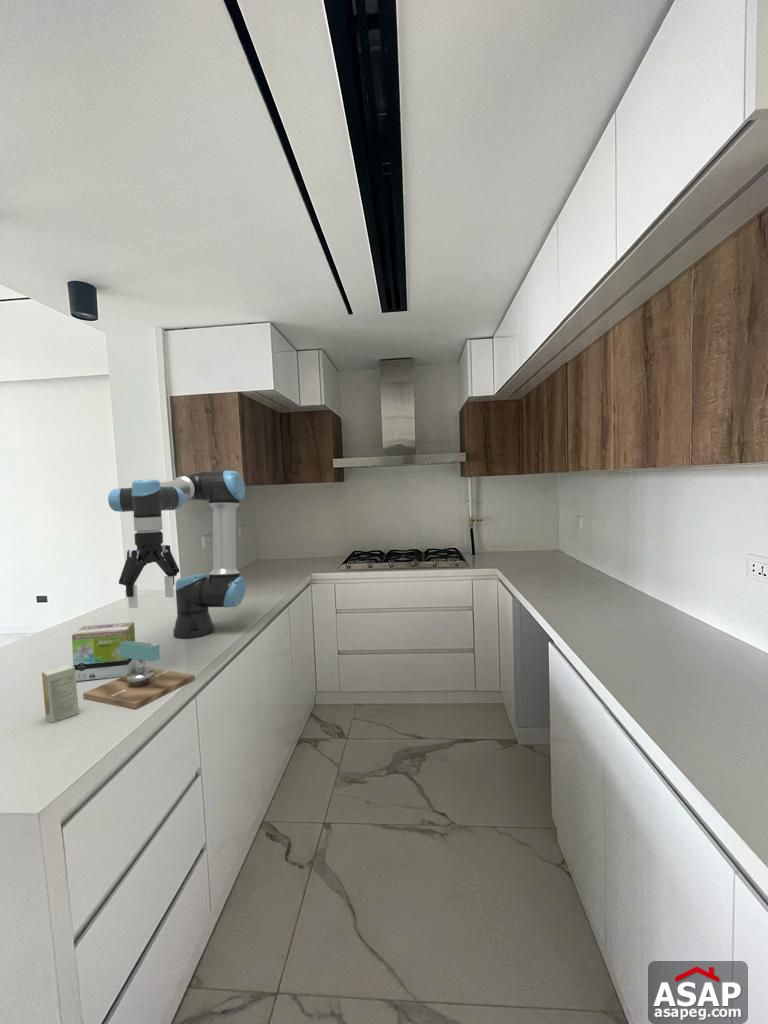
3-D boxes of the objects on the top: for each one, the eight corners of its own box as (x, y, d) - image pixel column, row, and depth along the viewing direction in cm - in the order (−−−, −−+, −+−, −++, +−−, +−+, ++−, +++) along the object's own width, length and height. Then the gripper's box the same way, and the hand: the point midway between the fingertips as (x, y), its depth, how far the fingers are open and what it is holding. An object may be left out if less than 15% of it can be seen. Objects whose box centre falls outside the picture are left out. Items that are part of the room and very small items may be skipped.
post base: (145, 671, 146) (145, 662, 146) (194, 679, 138) (194, 669, 138) (83, 698, 128) (82, 687, 127) (135, 709, 120) (135, 698, 120)
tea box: (73, 683, 139) (70, 634, 138) (85, 671, 148) (82, 625, 148) (129, 676, 143) (126, 628, 142) (137, 665, 152) (134, 620, 152)
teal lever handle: (135, 670, 139) (133, 635, 138) (167, 675, 134) (165, 639, 133) (113, 679, 132) (111, 642, 132) (146, 685, 127) (144, 647, 127)
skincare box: (73, 709, 121) (70, 663, 121) (79, 713, 118) (76, 666, 118) (43, 719, 116) (40, 670, 116) (49, 724, 113) (46, 674, 113)
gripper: (170, 528, 152) (173, 592, 152) (101, 535, 128) (105, 611, 129) (189, 528, 149) (192, 593, 150) (122, 535, 126) (126, 613, 126)
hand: (152, 602), depth 139 cm, fingers open, 13 cm apart
